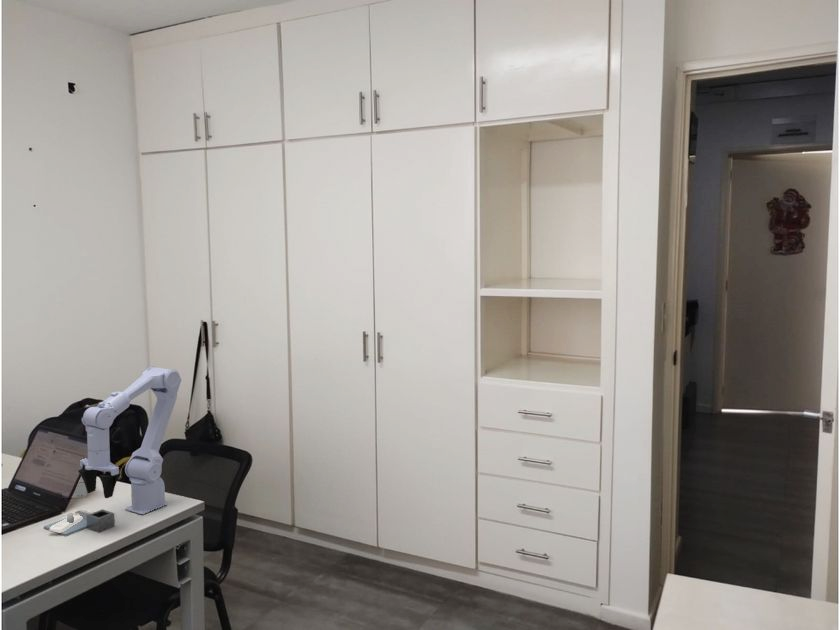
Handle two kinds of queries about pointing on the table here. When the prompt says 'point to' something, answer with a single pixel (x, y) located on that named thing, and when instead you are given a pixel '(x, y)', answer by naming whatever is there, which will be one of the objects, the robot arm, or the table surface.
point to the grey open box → (100, 520)
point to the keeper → (70, 519)
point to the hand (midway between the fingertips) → (99, 494)
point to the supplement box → (80, 490)
